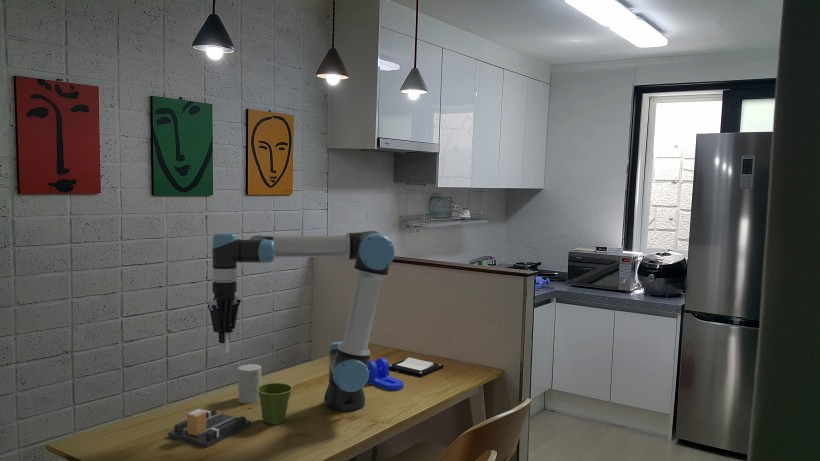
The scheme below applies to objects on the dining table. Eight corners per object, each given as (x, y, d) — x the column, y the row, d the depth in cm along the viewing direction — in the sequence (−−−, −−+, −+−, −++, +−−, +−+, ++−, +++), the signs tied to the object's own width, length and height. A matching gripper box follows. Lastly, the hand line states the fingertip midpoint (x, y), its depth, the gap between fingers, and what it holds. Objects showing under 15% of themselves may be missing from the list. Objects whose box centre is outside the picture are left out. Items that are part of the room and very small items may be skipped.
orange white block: (206, 431, 193) (206, 410, 192) (196, 436, 189) (196, 415, 188) (197, 428, 195) (197, 408, 194) (186, 433, 191) (186, 412, 190)
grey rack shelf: (246, 422, 201) (246, 416, 201) (210, 440, 187) (210, 433, 186) (210, 414, 208) (210, 407, 208) (173, 430, 193) (173, 423, 193)
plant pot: (274, 430, 199) (275, 396, 198) (248, 422, 205) (249, 389, 205) (299, 419, 209) (300, 386, 208) (274, 411, 215) (274, 380, 215)
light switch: (444, 361, 273) (421, 370, 258) (443, 369, 273) (421, 378, 258) (409, 354, 283) (386, 362, 268) (409, 361, 283) (386, 370, 269)
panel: (251, 425, 203) (251, 417, 203) (206, 447, 185) (206, 439, 185) (214, 416, 210) (214, 408, 210) (168, 437, 192) (168, 428, 192)
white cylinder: (255, 404, 222) (255, 371, 222) (234, 401, 224) (234, 369, 223) (264, 396, 230) (265, 365, 230) (244, 394, 232) (244, 363, 231)
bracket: (362, 381, 252) (362, 359, 251) (377, 377, 258) (378, 356, 257) (392, 392, 239) (393, 369, 238) (407, 388, 245) (408, 365, 244)
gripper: (229, 277, 207) (229, 346, 208) (200, 282, 195) (200, 355, 197) (247, 279, 203) (246, 349, 205) (218, 284, 192) (218, 358, 193)
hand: (224, 352), depth 201 cm, fingers closed
